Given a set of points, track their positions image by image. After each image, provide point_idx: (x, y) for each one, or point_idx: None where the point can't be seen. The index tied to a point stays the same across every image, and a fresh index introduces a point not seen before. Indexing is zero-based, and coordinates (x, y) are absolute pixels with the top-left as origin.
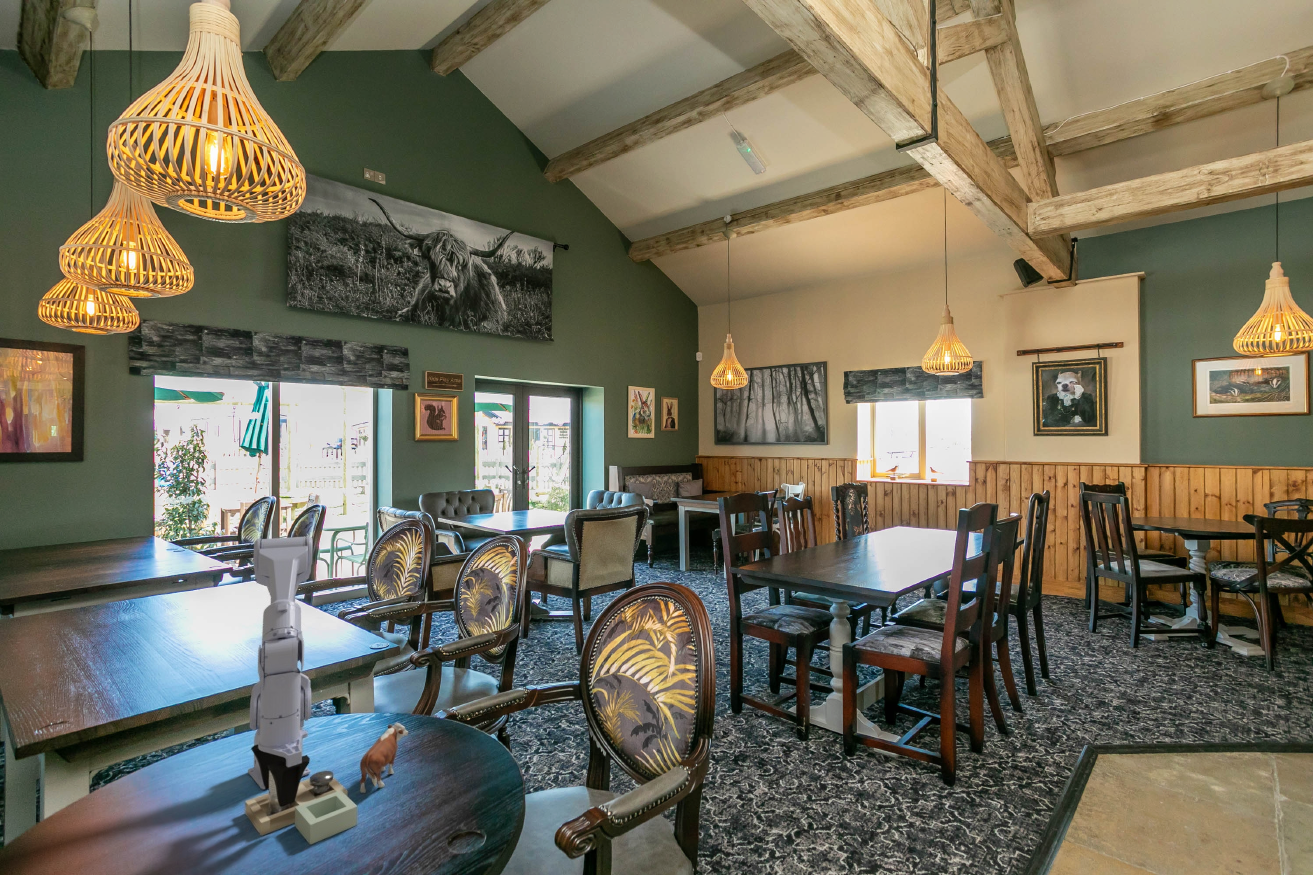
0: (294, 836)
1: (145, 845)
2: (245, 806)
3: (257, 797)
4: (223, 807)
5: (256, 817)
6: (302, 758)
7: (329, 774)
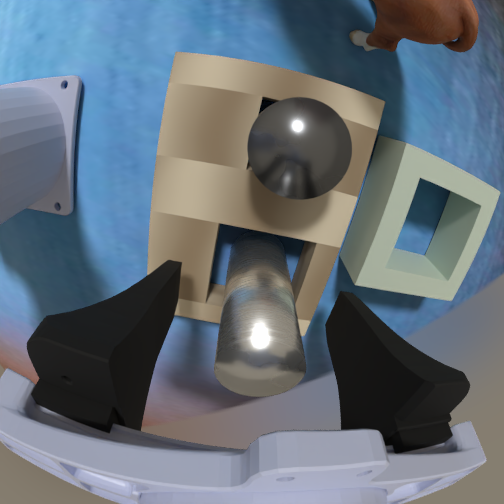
0: None
1: None
2: None
3: None
4: (94, 297)
5: None
6: (435, 401)
7: (321, 120)
